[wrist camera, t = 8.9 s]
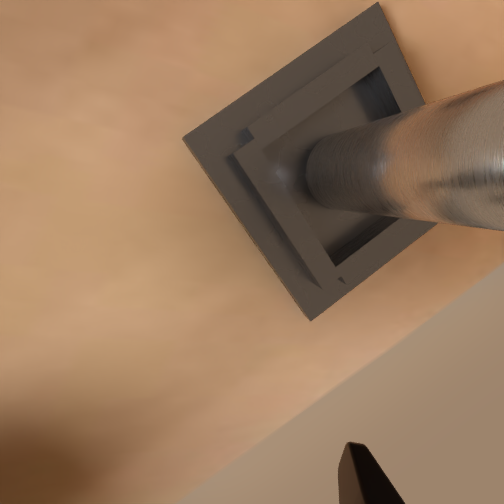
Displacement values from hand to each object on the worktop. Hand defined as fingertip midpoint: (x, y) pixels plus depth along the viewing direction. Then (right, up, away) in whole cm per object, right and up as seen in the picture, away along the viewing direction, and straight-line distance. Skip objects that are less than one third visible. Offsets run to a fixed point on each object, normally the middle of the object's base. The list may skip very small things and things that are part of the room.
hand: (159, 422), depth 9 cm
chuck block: (+7, +9, +11) cm, 16 cm away
